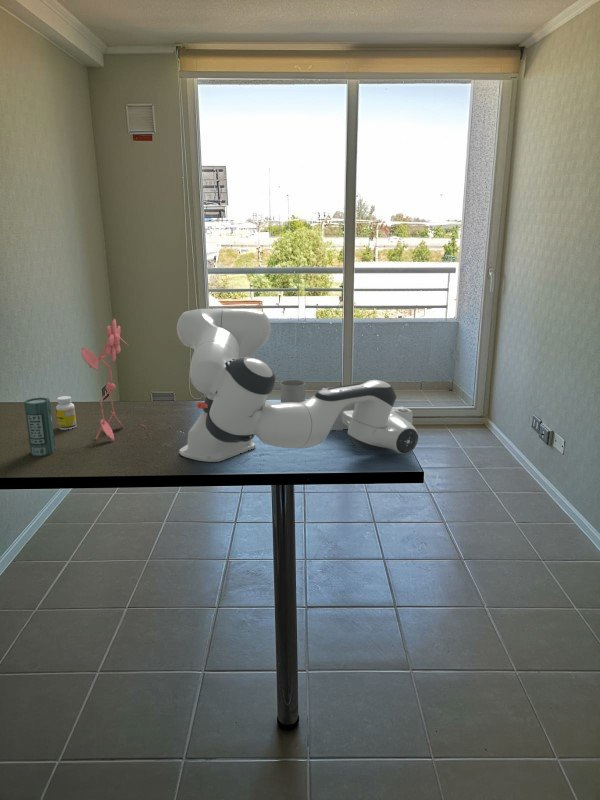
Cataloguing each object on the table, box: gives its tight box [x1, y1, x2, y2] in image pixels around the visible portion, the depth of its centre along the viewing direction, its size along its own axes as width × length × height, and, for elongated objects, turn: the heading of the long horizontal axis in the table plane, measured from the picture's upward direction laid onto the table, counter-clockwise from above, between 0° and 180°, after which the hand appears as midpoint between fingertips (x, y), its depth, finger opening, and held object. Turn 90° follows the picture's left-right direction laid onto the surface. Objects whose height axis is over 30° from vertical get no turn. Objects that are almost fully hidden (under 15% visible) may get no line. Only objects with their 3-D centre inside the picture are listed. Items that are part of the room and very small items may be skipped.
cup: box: [280, 379, 306, 403], centre depth 203 cm, size 8×8×10 cm
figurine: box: [81, 318, 149, 446], centre depth 176 cm, size 15×26×35 cm, turn 179°
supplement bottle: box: [55, 395, 77, 431], centre depth 185 cm, size 5×5×10 cm
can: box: [23, 397, 56, 457], centre depth 164 cm, size 6×6×15 cm
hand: (367, 409), depth 183 cm, fingers closed on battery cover, 5 cm apart
